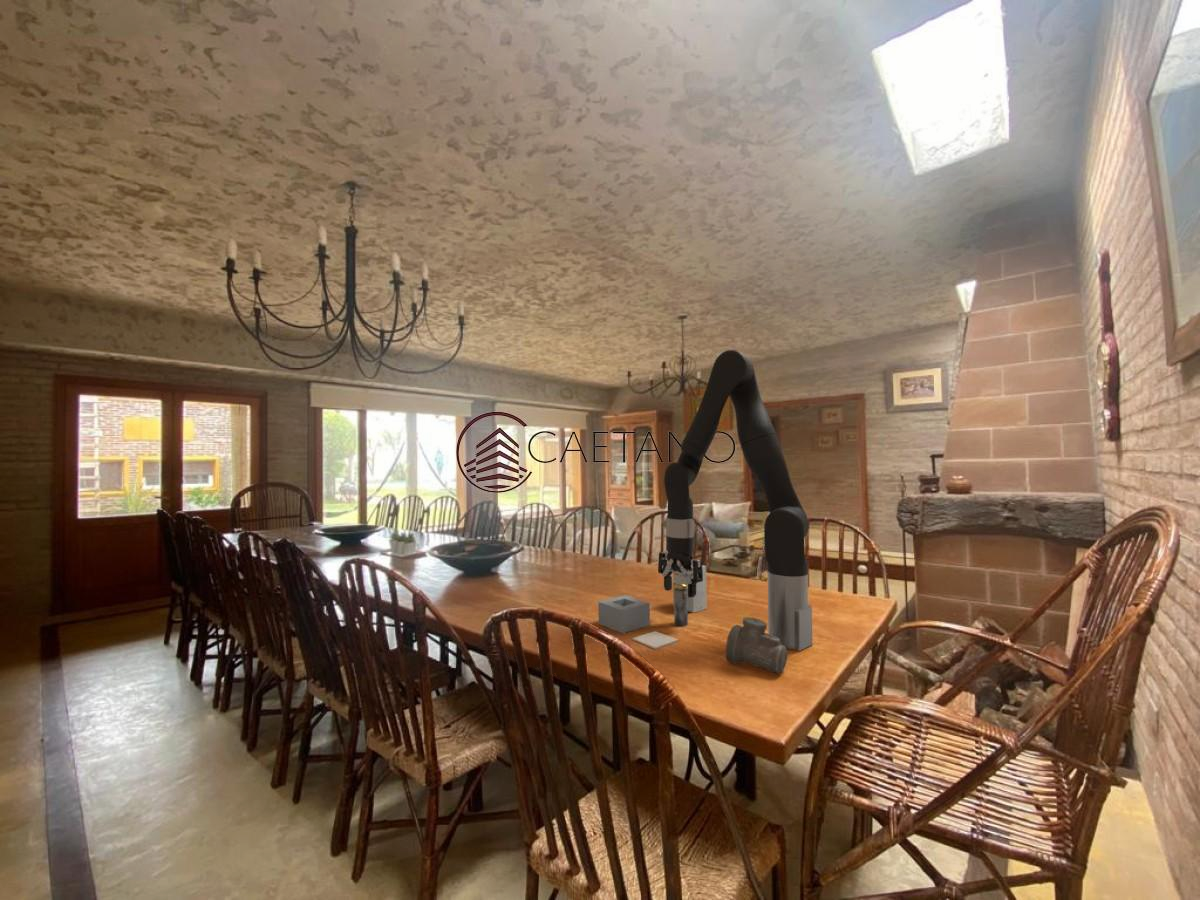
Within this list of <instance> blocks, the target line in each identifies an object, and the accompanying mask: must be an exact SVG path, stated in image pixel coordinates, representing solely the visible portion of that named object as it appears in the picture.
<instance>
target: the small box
mask: <svg viewBox="0 0 1200 900" xmlns="http://www.w3.org/2000/svg"><path fill="white" fill-rule="evenodd" d="M702 571H703V581H702V582H698V583H697V584H696V595H695V597H692V598H690V597H688V589H687V611H688V613H693V614H694V613H698V612H701V611H703V610H707V608H708V605H707V601H708V600H707V567H706V565H703V564H702ZM687 572H690V571H689V570H688V571H687ZM690 577H691V576H690ZM691 579H692V578H691ZM676 582H684V583H687V584H689V583H688V581H687V579H686V577H685V576H684V575H683V573H680V572H678V571H674V572H673V573H672V584H673V583H676ZM672 588H673V587H672ZM672 595H673V597H672V598H673V604H674V588H673V590H672Z"/></svg>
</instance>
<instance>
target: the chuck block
mask: <svg viewBox="0 0 1200 900" xmlns="http://www.w3.org/2000/svg"><path fill="white" fill-rule="evenodd" d="M650 608H651V604H650V602H648V601H645V600H641V599H638V598H635V597H633V596H630V595H621V596H615V597H613V598H608V599H604V600H601V601H598V609H597V610H598V624H599V625H601V626H603V627H605V628H608V629H611V630H613V631H615V632H618V633H620V634H626V633H628V632H632V631H635V630H638V629H642V628H644V627H647V626H650V625H651V613H650V612H651V609H650Z"/></svg>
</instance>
